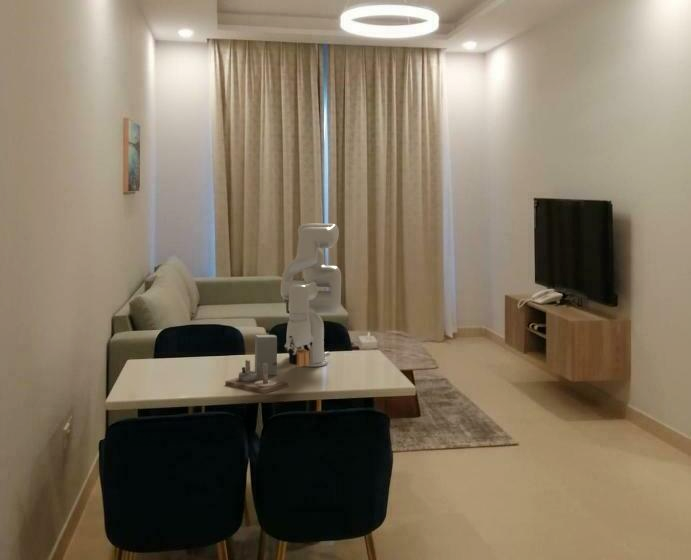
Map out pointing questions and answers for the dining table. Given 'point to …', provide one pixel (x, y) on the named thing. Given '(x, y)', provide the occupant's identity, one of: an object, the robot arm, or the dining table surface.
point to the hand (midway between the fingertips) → (299, 361)
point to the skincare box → (266, 354)
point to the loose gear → (302, 357)
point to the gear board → (256, 380)
